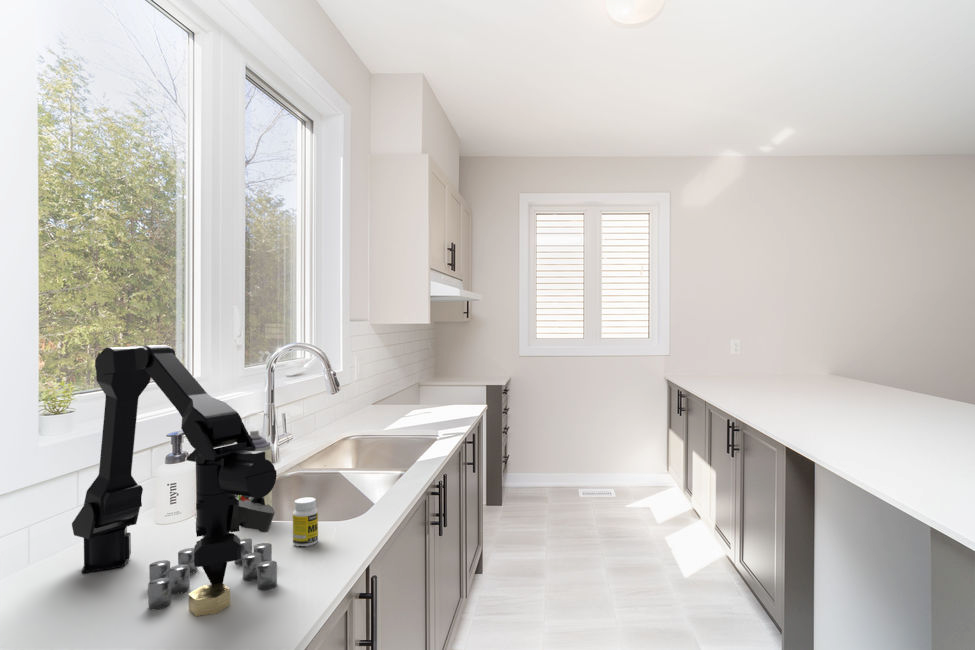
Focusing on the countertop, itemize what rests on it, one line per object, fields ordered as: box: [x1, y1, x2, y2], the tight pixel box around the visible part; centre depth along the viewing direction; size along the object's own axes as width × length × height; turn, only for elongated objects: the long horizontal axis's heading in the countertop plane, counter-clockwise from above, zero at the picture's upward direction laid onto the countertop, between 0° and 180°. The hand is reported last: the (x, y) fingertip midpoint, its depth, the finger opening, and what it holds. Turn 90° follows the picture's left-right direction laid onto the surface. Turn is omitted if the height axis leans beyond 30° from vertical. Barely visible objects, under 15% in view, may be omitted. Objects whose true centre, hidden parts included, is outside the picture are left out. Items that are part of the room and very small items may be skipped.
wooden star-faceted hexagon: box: [188, 582, 231, 617], centre depth 89 cm, size 5×6×2 cm
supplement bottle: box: [292, 496, 319, 547], centre depth 115 cm, size 5×5×8 cm
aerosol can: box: [238, 429, 273, 507], centre depth 128 cm, size 7×7×20 cm
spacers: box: [147, 538, 278, 610], centre depth 98 cm, size 19×16×4 cm
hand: (218, 588), depth 92 cm, fingers closed
